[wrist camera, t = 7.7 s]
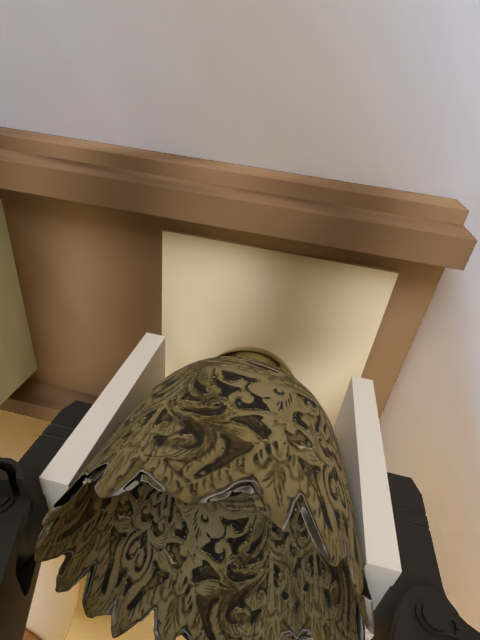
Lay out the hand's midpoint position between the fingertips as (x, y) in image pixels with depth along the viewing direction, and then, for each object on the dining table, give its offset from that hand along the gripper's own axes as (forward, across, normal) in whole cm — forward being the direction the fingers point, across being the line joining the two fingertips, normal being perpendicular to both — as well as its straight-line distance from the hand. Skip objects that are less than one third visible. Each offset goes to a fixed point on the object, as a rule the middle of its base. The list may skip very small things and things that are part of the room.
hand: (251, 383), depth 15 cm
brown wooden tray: (+4, -6, 0) cm, 7 cm away
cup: (0, 0, 0) cm, 0 cm away
